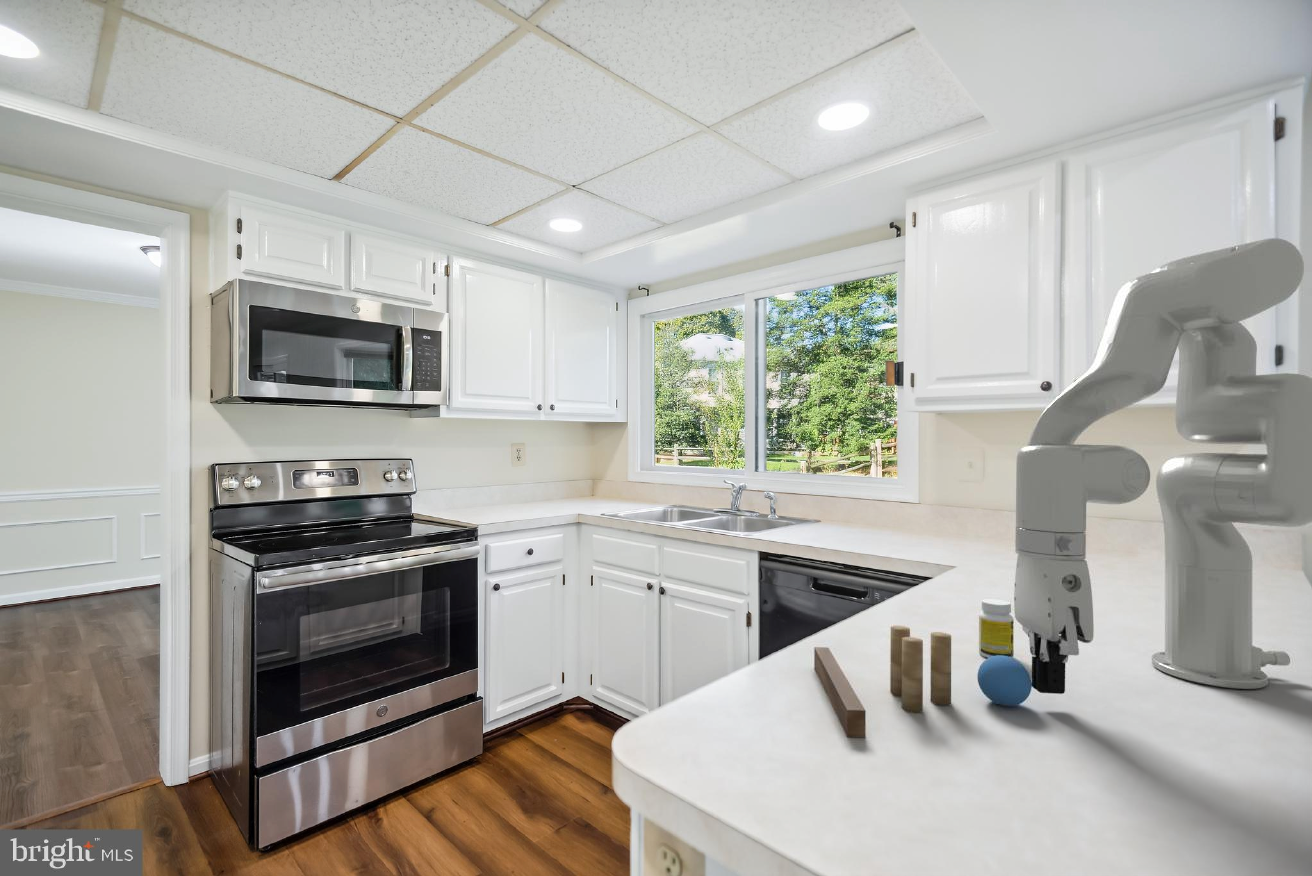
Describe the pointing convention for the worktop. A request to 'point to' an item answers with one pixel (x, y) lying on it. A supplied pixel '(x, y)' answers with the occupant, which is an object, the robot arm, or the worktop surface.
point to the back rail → (840, 693)
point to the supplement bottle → (996, 629)
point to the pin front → (941, 668)
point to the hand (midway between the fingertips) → (1048, 690)
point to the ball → (1004, 680)
